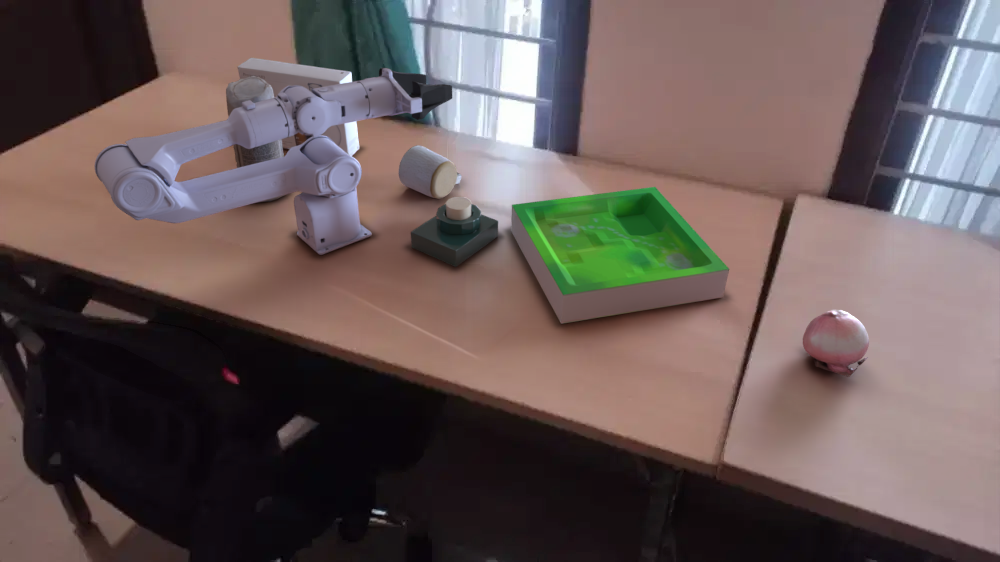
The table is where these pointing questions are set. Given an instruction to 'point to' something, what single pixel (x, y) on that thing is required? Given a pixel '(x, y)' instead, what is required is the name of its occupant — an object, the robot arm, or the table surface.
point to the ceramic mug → (428, 172)
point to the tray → (615, 254)
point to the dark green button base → (454, 236)
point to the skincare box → (310, 79)
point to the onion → (836, 341)
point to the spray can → (235, 95)
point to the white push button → (458, 208)
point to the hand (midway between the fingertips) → (437, 86)
